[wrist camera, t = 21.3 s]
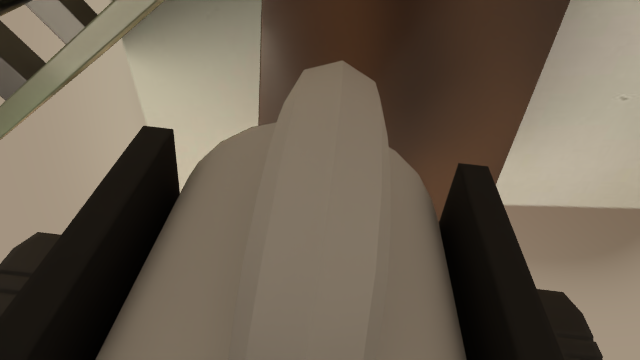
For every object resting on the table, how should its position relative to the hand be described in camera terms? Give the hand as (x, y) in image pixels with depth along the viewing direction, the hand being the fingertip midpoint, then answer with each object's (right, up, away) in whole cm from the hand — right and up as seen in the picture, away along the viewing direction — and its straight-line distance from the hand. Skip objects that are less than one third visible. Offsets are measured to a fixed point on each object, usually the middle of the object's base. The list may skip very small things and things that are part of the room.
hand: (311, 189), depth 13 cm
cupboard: (+4, +10, +20) cm, 23 cm away
